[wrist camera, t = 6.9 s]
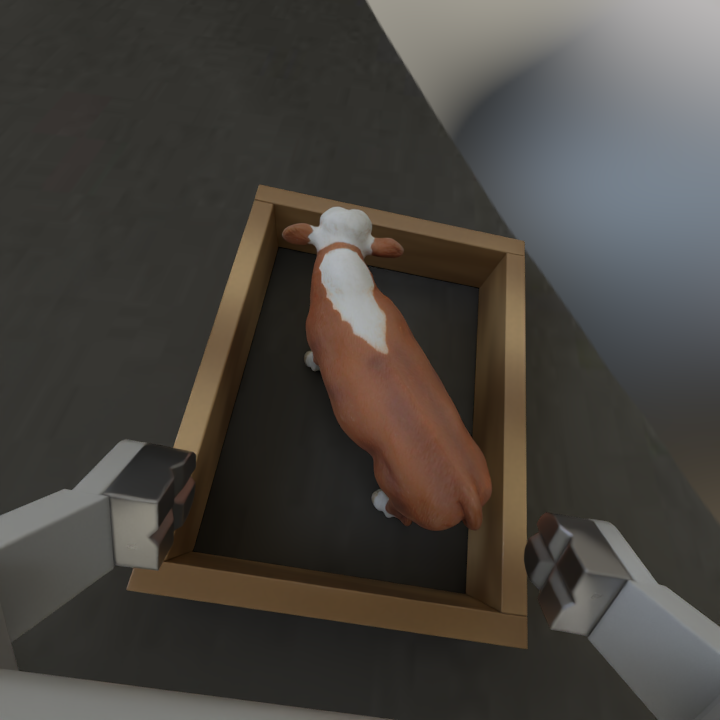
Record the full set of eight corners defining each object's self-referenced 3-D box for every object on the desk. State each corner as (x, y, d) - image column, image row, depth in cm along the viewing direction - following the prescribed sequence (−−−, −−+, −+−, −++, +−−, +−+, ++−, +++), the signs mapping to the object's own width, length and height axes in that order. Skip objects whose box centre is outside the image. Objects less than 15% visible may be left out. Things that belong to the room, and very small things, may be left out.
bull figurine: (351, 278, 22) (373, 161, 15) (455, 511, 19) (557, 512, 11) (276, 299, 21) (260, 184, 14) (371, 550, 18) (420, 581, 10)
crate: (486, 622, 17) (528, 650, 14) (161, 574, 16) (125, 590, 13) (495, 277, 24) (525, 240, 21) (265, 229, 23) (259, 183, 20)
